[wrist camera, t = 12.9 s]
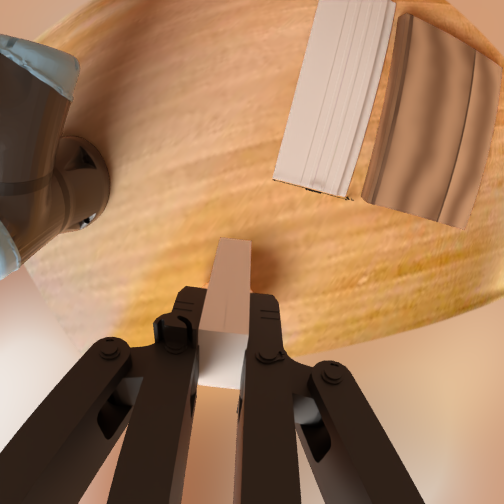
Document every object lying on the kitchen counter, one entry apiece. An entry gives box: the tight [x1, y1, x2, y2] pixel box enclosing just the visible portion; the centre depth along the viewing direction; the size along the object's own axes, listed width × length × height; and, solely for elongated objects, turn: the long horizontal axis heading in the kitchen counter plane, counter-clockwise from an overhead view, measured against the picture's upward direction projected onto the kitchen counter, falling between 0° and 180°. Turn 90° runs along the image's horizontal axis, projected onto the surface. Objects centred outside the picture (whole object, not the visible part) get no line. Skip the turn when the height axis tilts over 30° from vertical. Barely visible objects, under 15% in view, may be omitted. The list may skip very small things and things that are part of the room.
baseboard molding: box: [272, 0, 396, 201], centre depth 34 cm, size 31×3×12 cm
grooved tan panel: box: [361, 13, 503, 230], centre depth 34 cm, size 18×28×3 cm, turn 170°
